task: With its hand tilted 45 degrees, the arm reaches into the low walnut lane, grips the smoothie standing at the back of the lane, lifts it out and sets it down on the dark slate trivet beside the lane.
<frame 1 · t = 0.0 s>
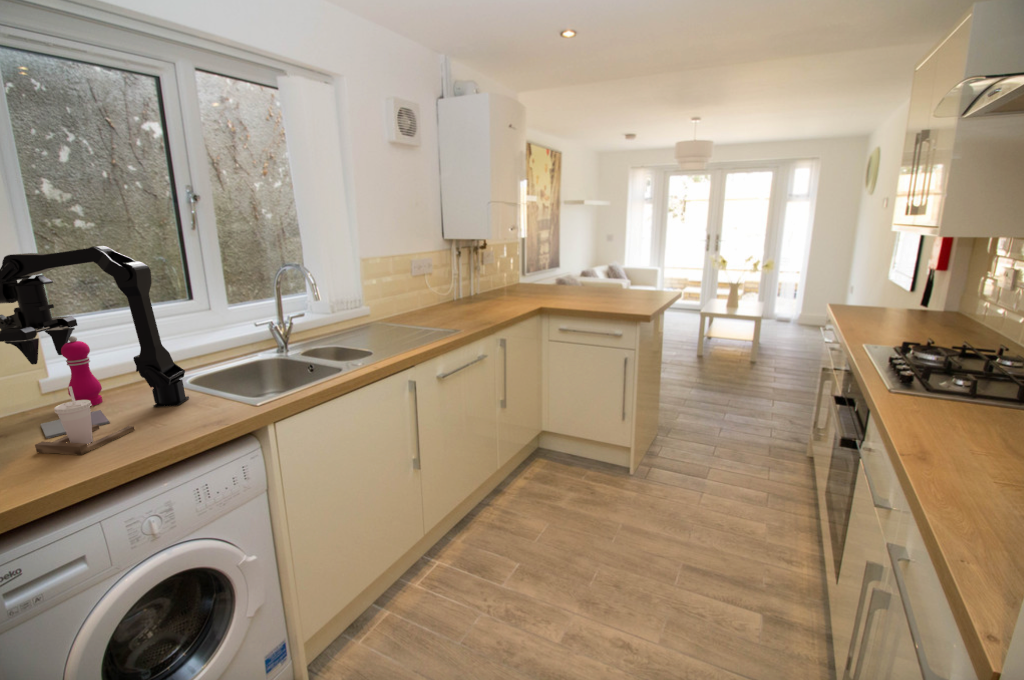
hand: (48, 359, 132), 15 cm above the table, tool pointing down, fingers open, 9 cm apart
lane: (82, 443, 114), on the table
pepper mill: (88, 404, 140), on the table
smoothie: (82, 444, 114), on the table
trivet: (75, 424, 125), on the table
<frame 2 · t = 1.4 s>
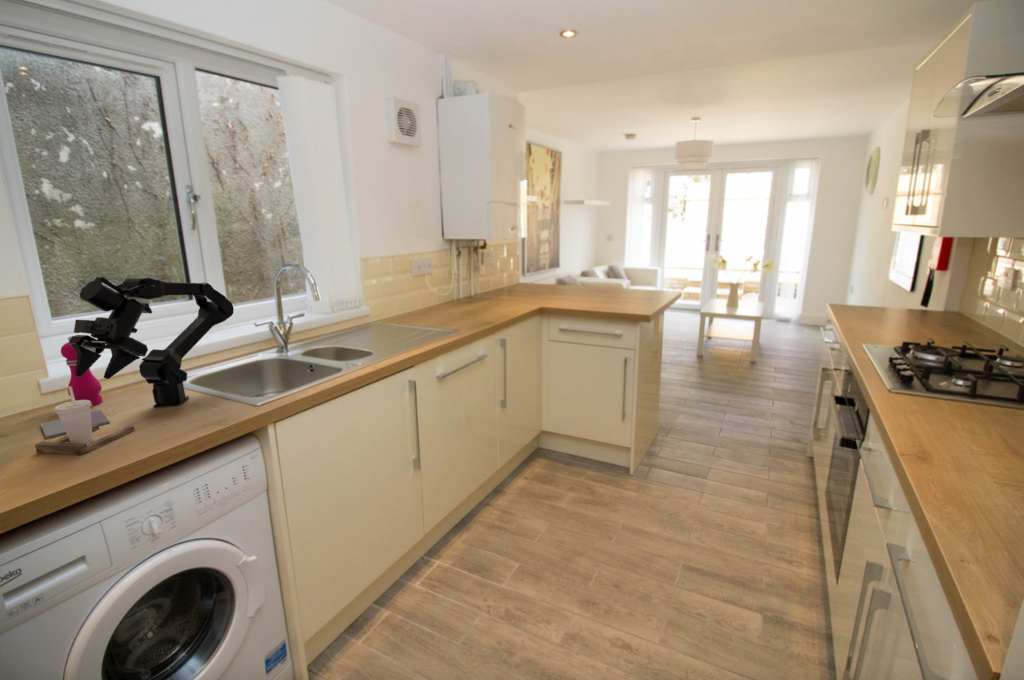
hand: (91, 377, 118), 14 cm above the table, tool tilted 40°, fingers open, 9 cm apart
nothing on the table moved.
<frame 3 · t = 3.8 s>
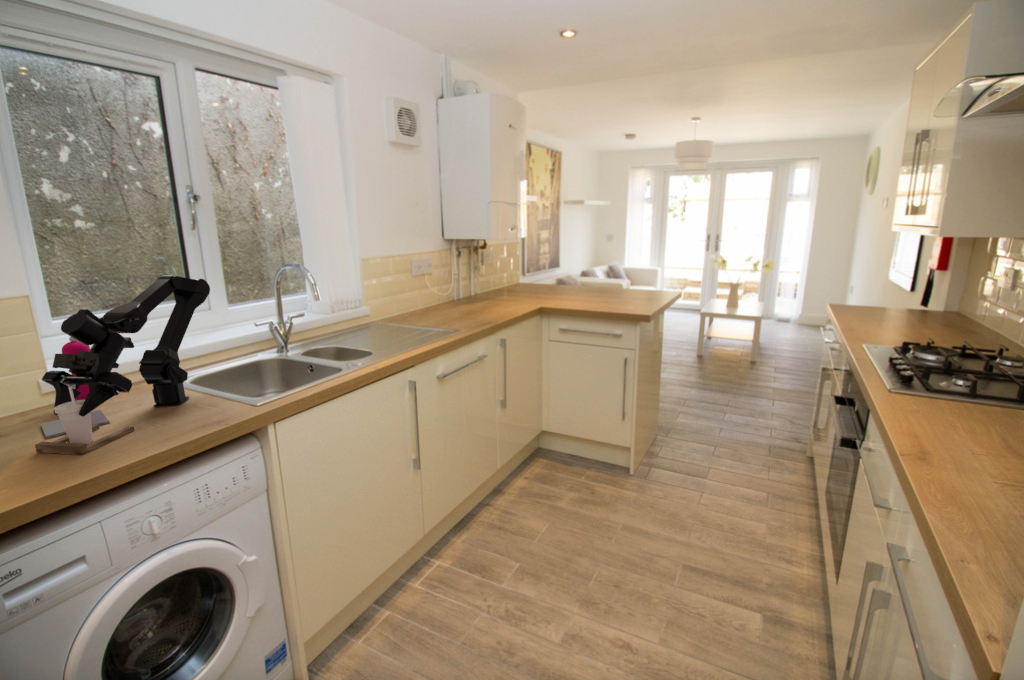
hand: (68, 415, 111), 8 cm above the table, tool tilted 45°, fingers closed on smoothie, 6 cm apart
smoothie: (82, 444, 114), on the table, touching gripper
everything else where it was.
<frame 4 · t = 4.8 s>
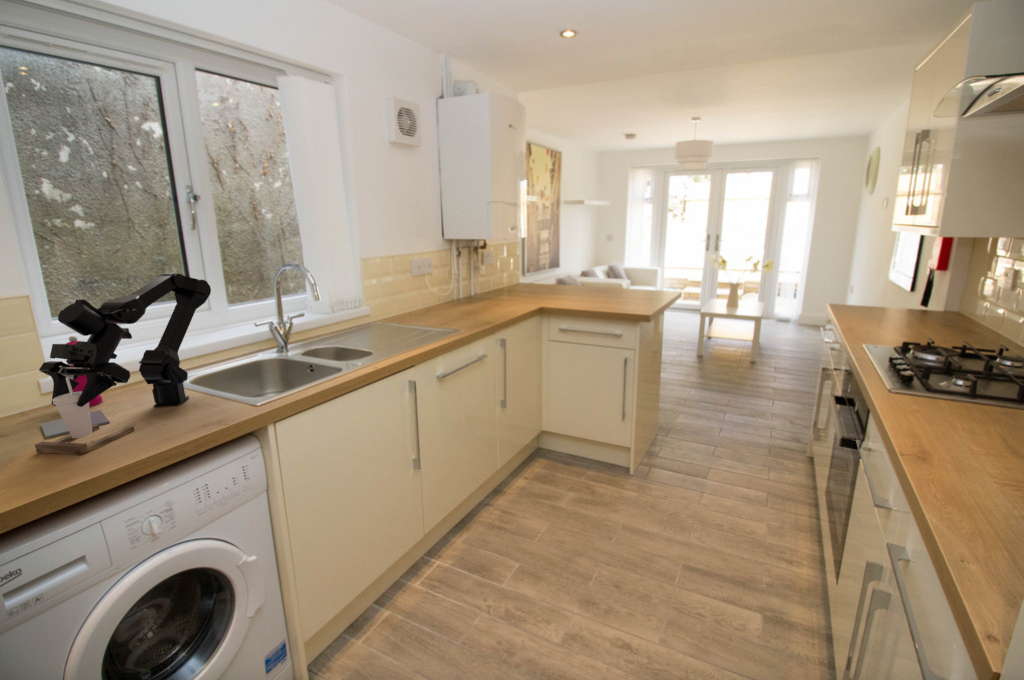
hand: (66, 405, 111), 10 cm above the table, tool tilted 45°, fingers closed on smoothie, 6 cm apart
smoothie: (82, 435, 114), point 2 cm above the table, touching gripper
everything else where it was.
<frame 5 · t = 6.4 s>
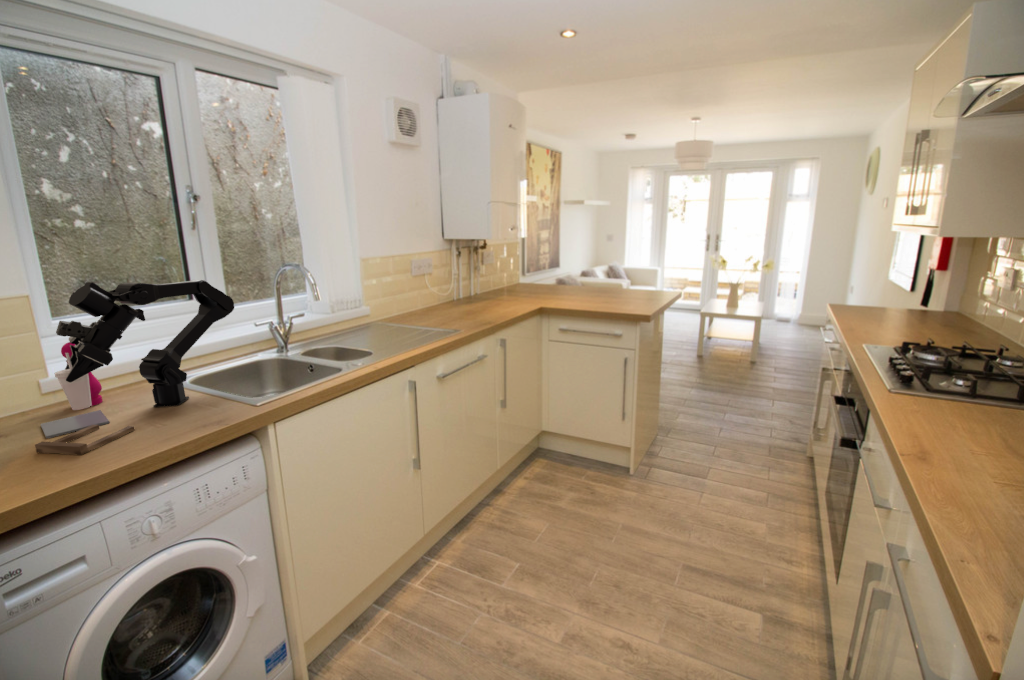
hand: (66, 378, 119), 13 cm above the table, tool tilted 45°, fingers closed on smoothie, 6 cm apart
smoothie: (82, 408, 122), point 5 cm above the table, touching gripper
everything else where it was.
when the fingers open (9 cm above the table, at t = 8.1 s): smoothie stays where it is, resting on trivet.
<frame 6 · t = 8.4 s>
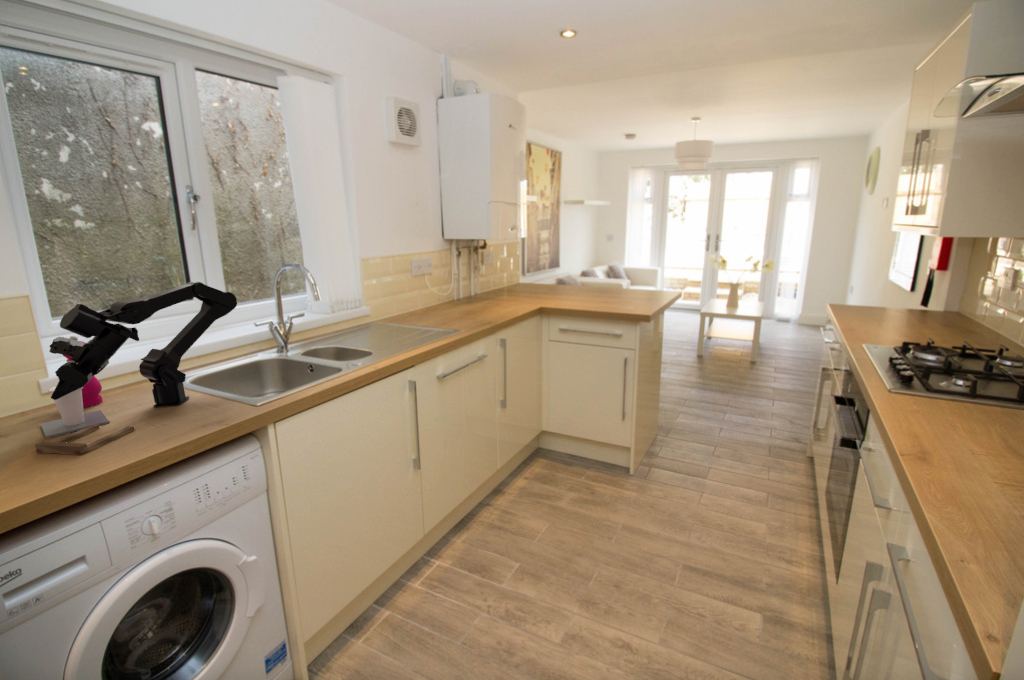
hand: (60, 393, 123), 9 cm above the table, tool tilted 45°, fingers open, 9 cm apart
smoothie: (75, 423, 125), resting on trivet
everything else where it was.
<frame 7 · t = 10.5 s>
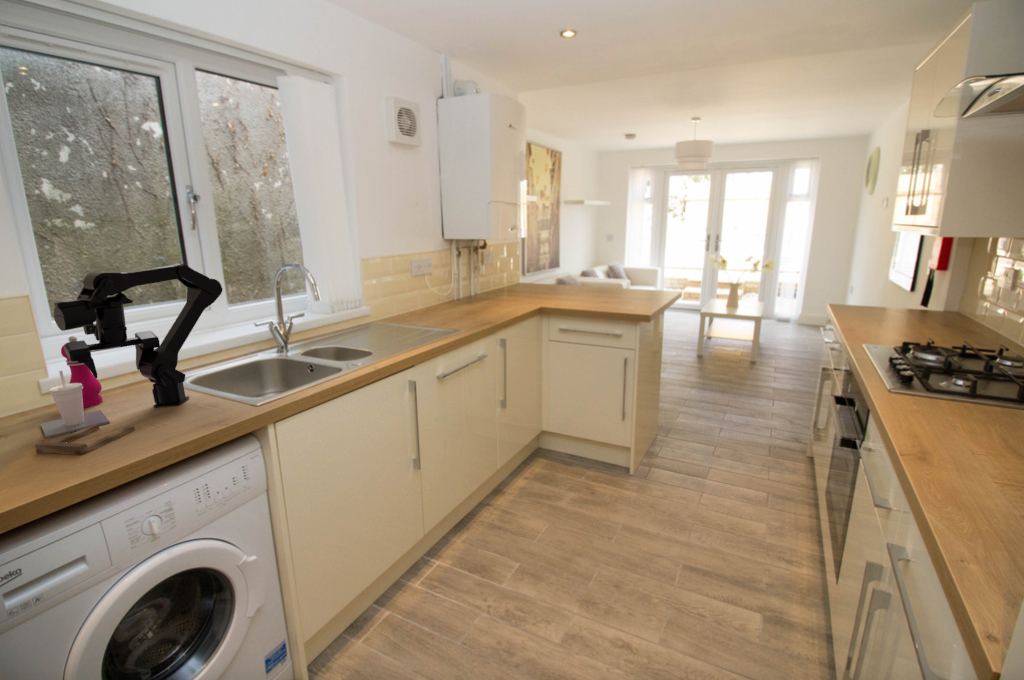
hand: (117, 373, 132), 11 cm above the table, tool tilted 15°, fingers open, 9 cm apart
nothing on the table moved.
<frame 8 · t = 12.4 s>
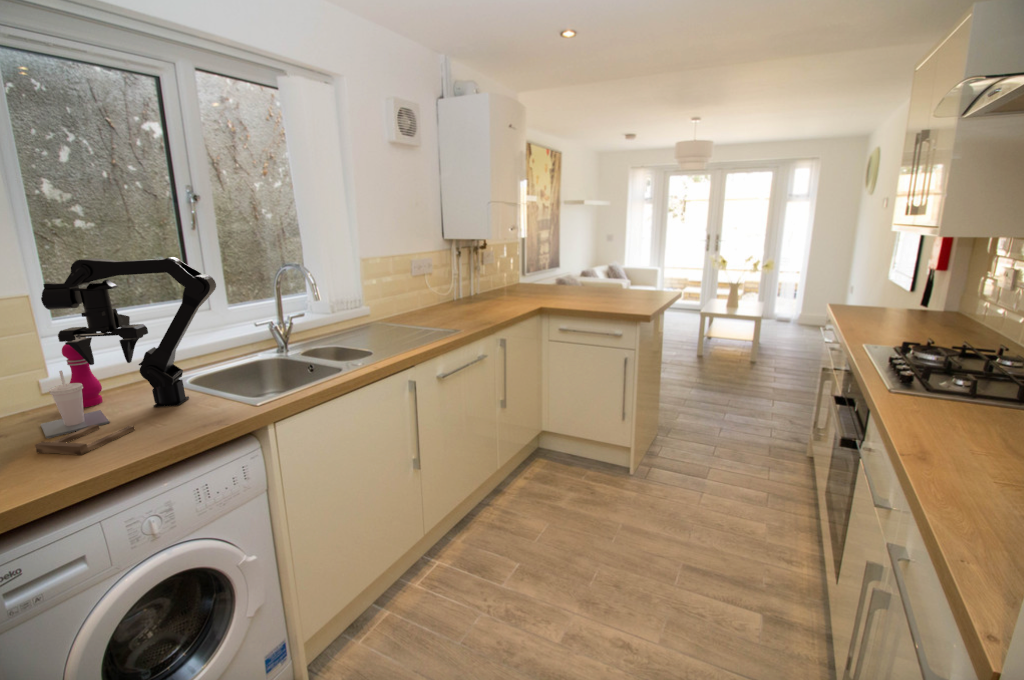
hand: (111, 363, 133), 13 cm above the table, tool pointing down, fingers open, 9 cm apart
nothing on the table moved.
at the end: smoothie 0.4 cm from the trivet (horizontally); smoothie tilted 0°; the gripper is holding nothing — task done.
